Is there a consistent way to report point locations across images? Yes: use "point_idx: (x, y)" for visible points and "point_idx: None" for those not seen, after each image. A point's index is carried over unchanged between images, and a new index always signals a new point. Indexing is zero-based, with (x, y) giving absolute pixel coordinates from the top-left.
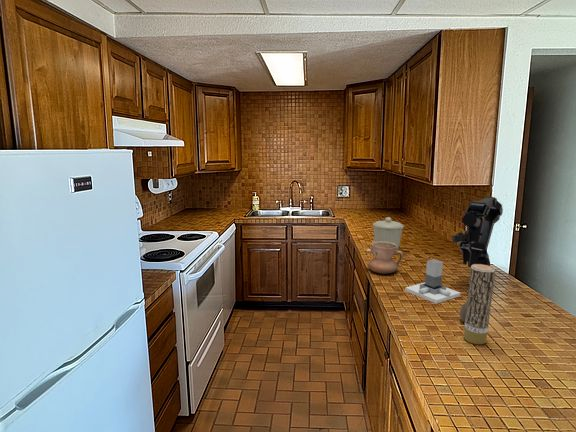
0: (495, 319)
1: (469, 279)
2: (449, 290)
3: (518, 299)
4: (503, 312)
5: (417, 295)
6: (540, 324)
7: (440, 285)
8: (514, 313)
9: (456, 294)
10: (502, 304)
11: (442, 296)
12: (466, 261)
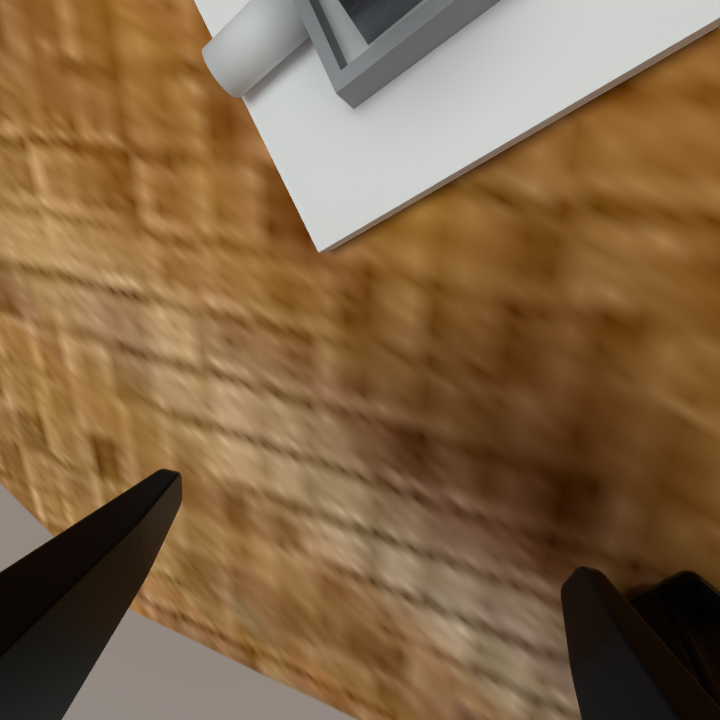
0: (30, 268)
1: (699, 579)
2: (374, 165)
3: (280, 579)
4: (113, 372)
5: None
6: (36, 439)
7: (342, 3)
8: (113, 418)
9: (292, 195)
10: (209, 445)
11: (227, 5)
12: (577, 654)
